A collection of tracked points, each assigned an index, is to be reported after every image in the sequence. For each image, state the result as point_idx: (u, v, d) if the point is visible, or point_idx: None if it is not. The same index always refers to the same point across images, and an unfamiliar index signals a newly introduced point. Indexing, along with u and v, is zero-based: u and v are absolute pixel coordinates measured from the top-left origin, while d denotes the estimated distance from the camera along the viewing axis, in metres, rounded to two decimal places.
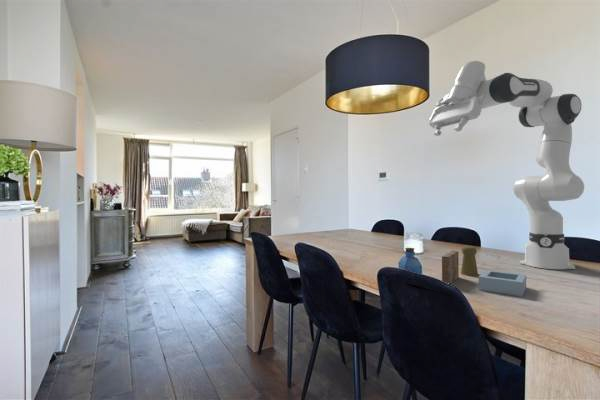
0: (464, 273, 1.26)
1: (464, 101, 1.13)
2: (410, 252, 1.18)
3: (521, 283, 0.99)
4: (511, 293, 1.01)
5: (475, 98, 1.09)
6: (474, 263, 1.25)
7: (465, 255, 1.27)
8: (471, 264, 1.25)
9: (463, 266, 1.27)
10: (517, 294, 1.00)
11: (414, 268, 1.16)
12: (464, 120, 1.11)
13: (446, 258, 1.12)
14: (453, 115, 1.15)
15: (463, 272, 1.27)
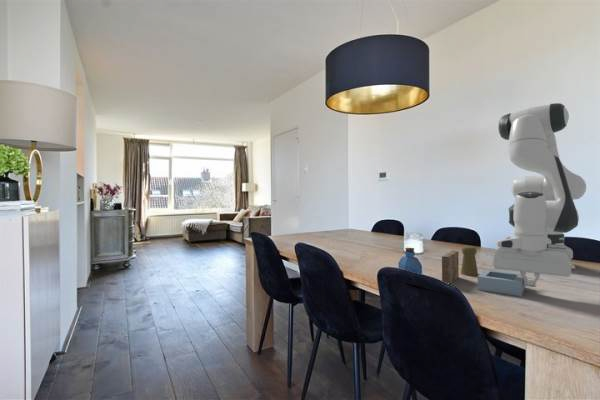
0: (464, 273, 1.26)
1: (547, 254, 0.98)
2: (410, 252, 1.18)
3: (520, 283, 0.99)
4: (510, 293, 1.01)
5: (566, 256, 0.96)
6: (474, 263, 1.25)
7: (465, 255, 1.27)
8: (471, 264, 1.25)
9: (463, 266, 1.27)
10: (516, 294, 1.00)
11: (414, 268, 1.16)
12: (539, 277, 1.01)
13: (446, 258, 1.12)
14: (536, 269, 1.00)
15: (463, 272, 1.27)
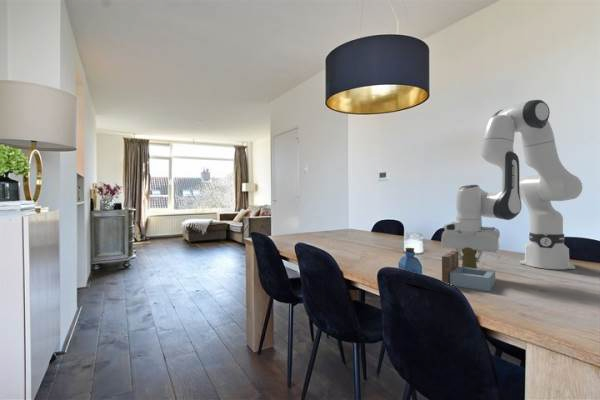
0: None
1: (480, 234, 1.23)
2: (410, 252, 1.18)
3: (488, 278, 1.05)
4: (479, 288, 1.07)
5: (494, 236, 1.20)
6: (474, 263, 1.25)
7: (465, 255, 1.27)
8: (471, 263, 1.25)
9: (463, 266, 1.27)
10: (484, 289, 1.06)
11: (414, 268, 1.16)
12: (482, 253, 1.24)
13: (446, 258, 1.12)
14: (473, 247, 1.25)
15: None
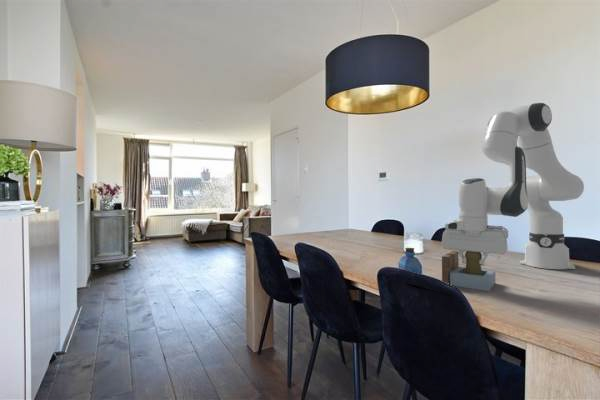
0: None
1: (486, 234, 1.09)
2: (410, 252, 1.18)
3: (488, 278, 1.05)
4: (479, 288, 1.07)
5: (502, 236, 1.06)
6: (479, 270, 1.11)
7: (469, 261, 1.12)
8: (475, 270, 1.11)
9: (466, 273, 1.13)
10: (484, 289, 1.06)
11: (414, 268, 1.16)
12: (487, 256, 1.10)
13: (446, 258, 1.12)
14: (477, 248, 1.10)
15: None
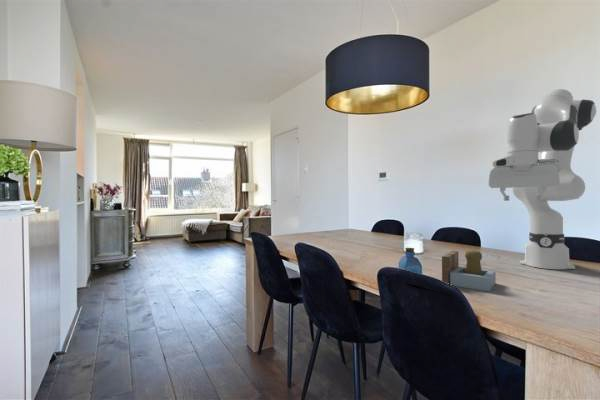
0: None
1: (538, 168, 1.07)
2: (410, 252, 1.18)
3: (488, 279, 1.05)
4: (479, 288, 1.07)
5: (555, 167, 1.05)
6: (479, 270, 1.11)
7: (469, 261, 1.12)
8: (475, 271, 1.11)
9: (466, 273, 1.13)
10: (484, 289, 1.06)
11: (414, 268, 1.16)
12: (545, 190, 1.07)
13: (446, 258, 1.12)
14: (528, 183, 1.09)
15: None
